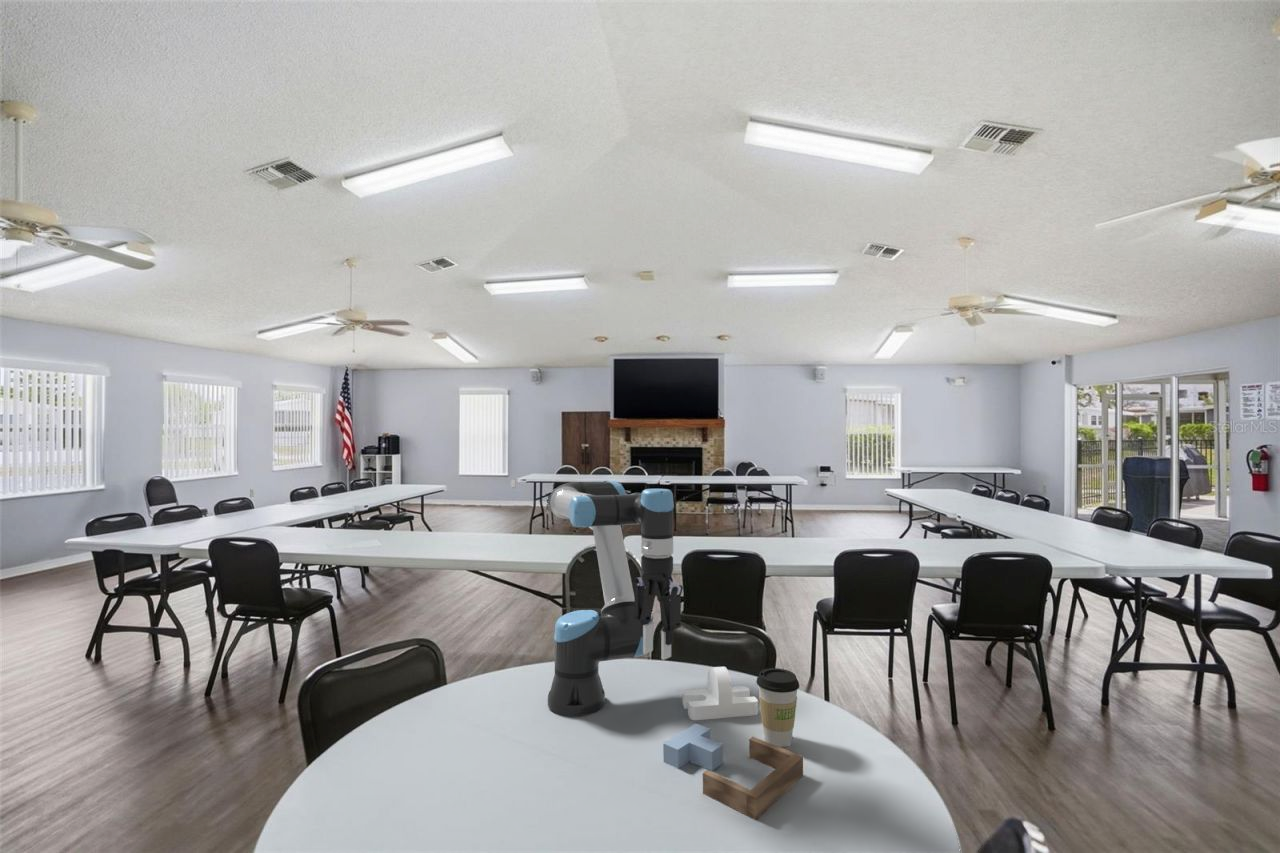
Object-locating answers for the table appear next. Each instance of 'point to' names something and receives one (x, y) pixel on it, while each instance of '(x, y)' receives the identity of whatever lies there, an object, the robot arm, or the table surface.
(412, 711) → the table surface
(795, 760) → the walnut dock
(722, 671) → the white slotted block
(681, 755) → the t block
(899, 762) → the table surface
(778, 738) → the coffee cup
